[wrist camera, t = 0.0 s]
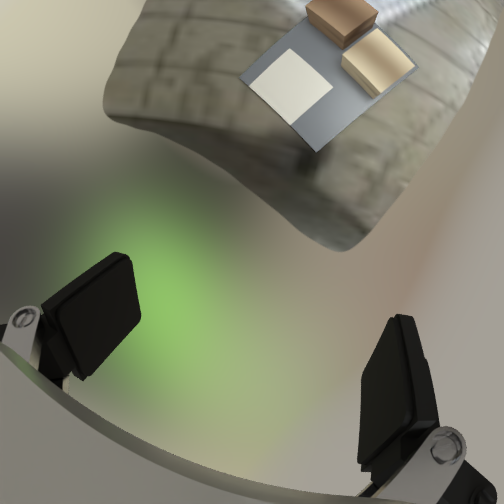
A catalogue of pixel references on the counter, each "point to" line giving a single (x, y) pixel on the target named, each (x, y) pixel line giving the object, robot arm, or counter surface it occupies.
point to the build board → (312, 83)
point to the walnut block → (341, 19)
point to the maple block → (375, 63)
